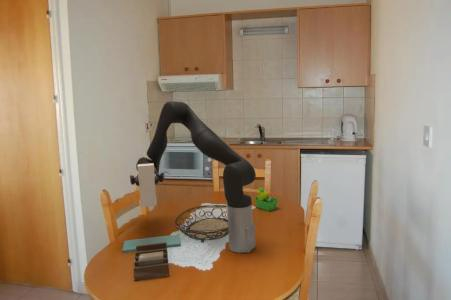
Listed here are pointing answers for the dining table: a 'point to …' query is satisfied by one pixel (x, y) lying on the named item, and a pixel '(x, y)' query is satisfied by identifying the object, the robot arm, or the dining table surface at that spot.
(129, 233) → the dining table surface
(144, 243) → the board
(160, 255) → the offcut mid
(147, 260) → the offcut tall
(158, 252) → the offcut short
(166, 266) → the rack
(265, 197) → the fruit basket
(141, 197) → the beige tall block
